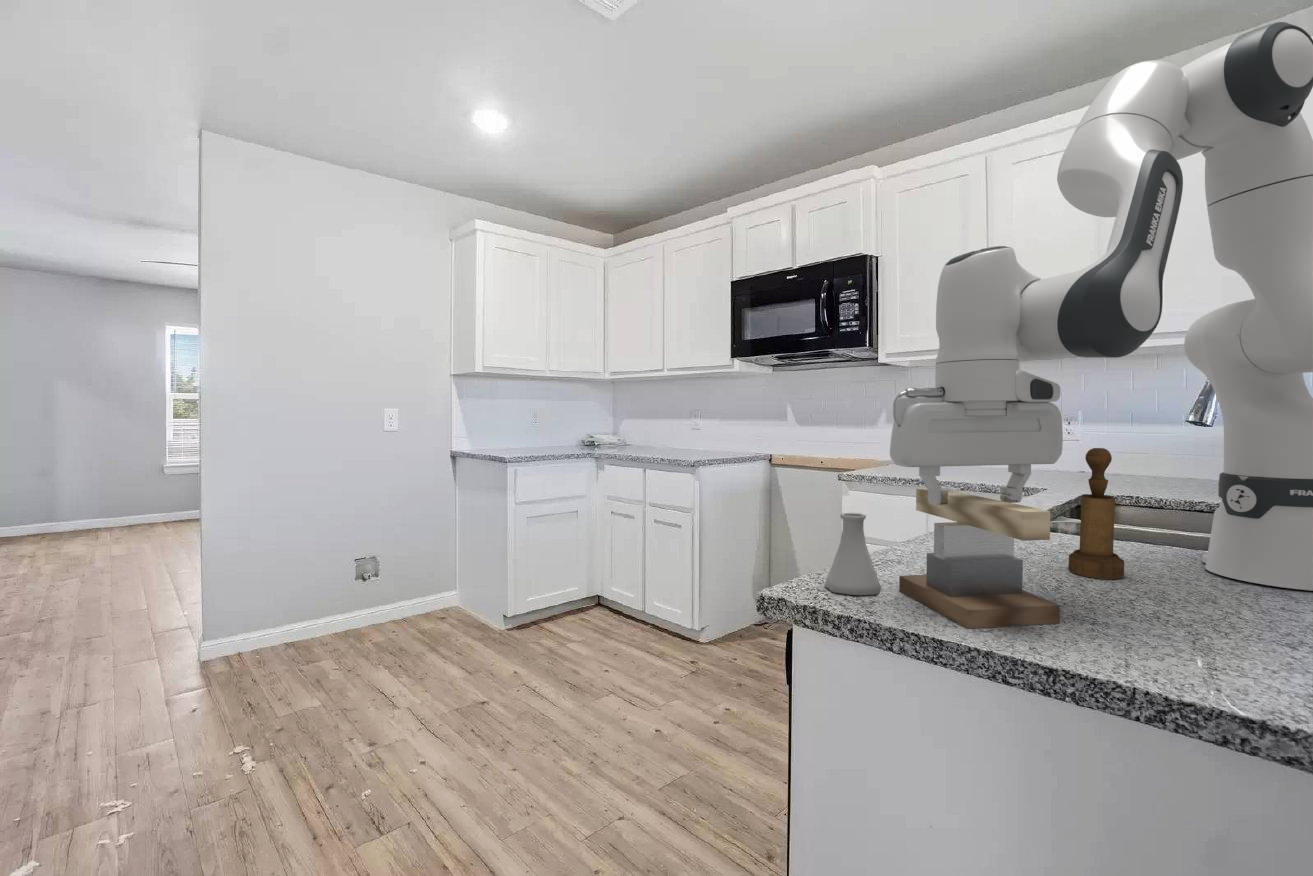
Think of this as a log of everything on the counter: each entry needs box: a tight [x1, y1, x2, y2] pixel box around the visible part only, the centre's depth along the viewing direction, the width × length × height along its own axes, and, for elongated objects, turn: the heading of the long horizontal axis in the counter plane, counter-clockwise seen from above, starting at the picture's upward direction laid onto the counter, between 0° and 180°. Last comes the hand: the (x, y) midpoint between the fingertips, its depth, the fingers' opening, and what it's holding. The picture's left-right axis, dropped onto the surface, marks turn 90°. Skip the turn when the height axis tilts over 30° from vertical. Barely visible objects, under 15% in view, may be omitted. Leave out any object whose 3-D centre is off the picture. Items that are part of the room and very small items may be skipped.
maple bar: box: [915, 487, 1051, 542], centre depth 73 cm, size 20×3×3 cm, turn 8°
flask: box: [824, 512, 882, 596], centre depth 81 cm, size 7×7×10 cm
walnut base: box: [898, 574, 1061, 629], centre depth 74 cm, size 11×14×2 cm
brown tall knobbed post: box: [1067, 447, 1125, 580], centre depth 87 cm, size 7×6×18 cm
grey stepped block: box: [926, 521, 1024, 597], centre depth 73 cm, size 9×5×8 cm, turn 98°
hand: (974, 503), depth 73 cm, fingers open, 8 cm apart
